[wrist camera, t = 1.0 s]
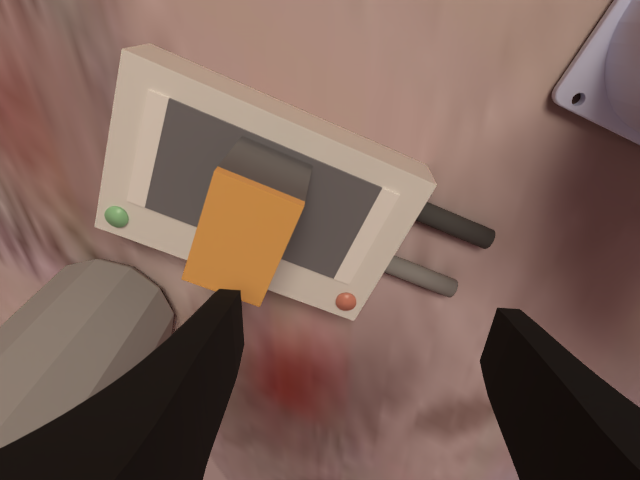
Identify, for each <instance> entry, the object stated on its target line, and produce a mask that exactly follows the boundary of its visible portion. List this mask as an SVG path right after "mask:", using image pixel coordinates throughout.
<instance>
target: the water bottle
mask: <svg viewBox="0 0 640 480" xmlns="http://www.w3.org/2000/svg"><path fill="white" fill-rule="evenodd" d="M173 318H174V313H173V311H172V309H171V308H170V306H169V304H168V302H167V300H166V298H165V296H164V295H163V293H162V291H161V289H160V287H159V286H158V285H157V284H155V283H154V282H153V281H151V280H150V279H149V278H147V277H146V276H145V275H144V274H142V273H141V272H140V271H138V270H137V269H136V268H135V267H133V266H129V265H125V264H121V263H117V262H112V261H108V260H104V259H94V260H89V261H85V262H80V263H75V264H71V265H66V266H65V267H64V268H63V269H62V270H61V271H60V272H59V273H58V274H56V275H55V276H54V277H53V278H52V279H51V280H50V281H49V282H48V283H47V284H46V285H45V286H43V287H42V288H41V289H40V290H39V291H38V292H37V293H36V294H35V295H34V296H33V297H32V298H31V299H29V300H28V301H27V302H26V303H25V304H24V305H23V306H22V307H21V308H20V309H19V310H18V311H16V312H15V313H14V314H13V315H12V316H11V317H10V318H9V319H8V320H7V321H6V322H5V323H4V324H2V325H1V326H0V448H2V447H4V446H6V445H8V444H10V443H12V442H13V441H15V440H17V439H19V438H21V437H23V436H25V435H27V434H29V433H30V432H32V431H34V430H36V429H38V428H40V427H42V426H43V425H45V424H47V423H49V422H50V421H52V420H54V419H56V418H57V417H59V416H61V415H63V414H64V413H66V412H68V411H69V410H71V409H72V408H74V407H76V406H77V405H79V404H80V403H82V402H84V401H85V400H87V399H88V398H90V397H91V396H93V395H95V394H96V393H98V392H99V391H101V390H103V389H104V388H105V387H107V386H108V385H110V384H111V383H113V382H114V381H115V380H117V379H118V378H120V377H121V376H122V375H124V374H125V373H126V372H128V371H129V370H130V369H132V368H133V367H134V366H136V365H137V364H138V363H139V362H141V361H142V360H143V359H144V358H145V357H147V356H148V355H149V354H150V353H151V352H153V351H154V350H155V349H156V348H157V347H158V346H160V345H161V344H162V343H163V342H164V341H165V340H167V339H168V338H169V337H170V336H171V335H172V327H173Z"/></svg>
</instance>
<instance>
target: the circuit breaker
mask: <svg viewBox="0 0 640 480" xmlns="http://www.w3.org/2000/svg"><path fill="white" fill-rule="evenodd" d="M242 136H243V137H245V138H247V139H250V140H252V141H255V142H257V143H259V144H262V145H264V146H267V147H269V148H271V149H274V150H276V151H279V152H281V153H283V154H286V155H288V156H290V157H293V158H295V159H298V160H300V161H302V162H305V163H307V164H310V165H312V171H311V176H310V181H309V186H308V190H307V195H306V200H305V205H304V208H303V210H302V213H301V215H300V217H299V220H298V222H297V224H296V226H295V229H294V231H293V233H292V235H291V238H290V240H289V242H288V244H287V247H286V249H285V251H284V253H283V256H282V258H281V260H280V262H279V265H278V267H277V269H276V271H275V274H274V276H273V278H272V281H271V283H270V285H269V287H268V290H270V291H273V292H275V293H278V294H281V295H284V296H286V297H289V298H292V299H295V300H297V301H300V302H303V303H306V304H308V305H311V306H314V307H317V308H319V309H322V310H325V311H328V312H330V313H333V314H336V315H339V316H341V317H344V318H347V319H350V320H352V321H354V320H355V319H356V317H357V316H358V314H359V312H360V311H361V309H362V307H363V306H364V304H365V302H366V301H367V299H368V297H369V296H370V294H371V293H372V291H373V289H374V288H375V286H376V284H377V283H378V281H379V279H380V278H381V276H382V275H383V273H384V271H385V270H386V268H387V266H388V265H389V263H390V261H391V260H392V258H393V256H394V255H395V253H396V252H397V250H398V248H399V247H400V245H401V243H402V242H403V240H404V238H405V237H406V235H407V234H408V232H409V230H410V229H411V227H412V225H413V224H414V222H415V220H416V219H417V217H418V215H419V214H420V212H421V211H422V209H423V207H424V206H425V204H426V202H427V201H428V199H429V197H430V196H431V194H432V193H433V191H434V189H435V188H436V186H437V184H436V182H435V180H434V178H433V176H432V174H431V172H430V170H429V168H428V166H427V165H426V164H424V163H422V162H420V161H417V160H415V159H413V158H410V157H408V156H406V155H404V154H401V153H399V152H397V151H395V150H392V149H390V148H388V147H385V146H383V145H381V144H379V143H376V142H374V141H372V140H369V139H367V138H365V137H363V136H360V135H358V134H356V133H354V132H351V131H349V130H347V129H344V128H342V127H340V126H338V125H335V124H333V123H331V122H328V121H326V120H324V119H322V118H319V117H317V116H315V115H313V114H310V113H308V112H306V111H303V110H301V109H299V108H297V107H294V106H292V105H290V104H287V103H285V102H283V101H281V100H278V99H276V98H274V97H271V96H269V95H267V94H265V93H262V92H260V91H258V90H256V89H253V88H251V87H249V86H246V85H244V84H242V83H240V82H237V81H235V80H233V79H230V78H228V77H226V76H224V75H221V74H219V73H217V72H215V71H212V70H210V69H208V68H205V67H203V66H201V65H199V64H196V63H194V62H192V61H189V60H187V59H185V58H183V57H180V56H178V55H176V54H174V53H171V52H169V51H167V50H164V49H162V48H160V47H158V46H155V45H153V44H151V43H150V44H144V45H139V46H134V47H128V48H123V49H122V51H121V58H120V64H119V71H118V77H117V84H116V90H115V97H114V103H113V110H112V116H111V123H110V129H109V136H108V142H107V149H106V155H105V162H104V168H103V175H102V181H101V188H100V194H99V201H98V207H97V214H96V220H95V227H97V228H99V229H102V230H105V231H108V232H110V233H113V234H116V235H119V236H121V237H124V238H127V239H130V240H132V241H135V242H138V243H141V244H143V245H146V246H149V247H152V248H154V249H157V250H160V251H163V252H165V253H168V254H171V255H174V256H176V257H179V258H182V259H185V260H187V259H188V256H189V252H190V249H191V246H192V243H193V239H194V236H195V233H196V229H197V226H198V223H199V219H200V216H201V213H202V209H203V206H204V203H205V199H206V196H207V193H208V189H209V186H210V183H211V180H212V176H213V173H214V170H215V169H216V168H217V167H218V165H219V164H220V163H221V162H222V160H223V159H224V158H225V157H226V155H227V154H228V153H229V152H230V150H231V149H232V148H233V147H234V145H235V144H236V143H237V142H238V140H239V139H240V138H241V137H242Z"/></svg>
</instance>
